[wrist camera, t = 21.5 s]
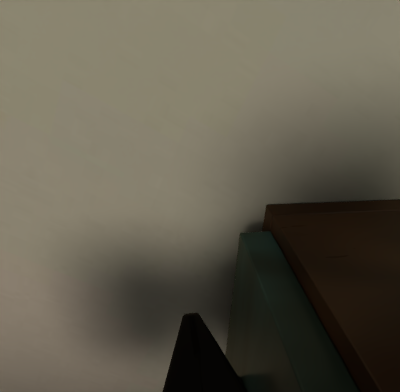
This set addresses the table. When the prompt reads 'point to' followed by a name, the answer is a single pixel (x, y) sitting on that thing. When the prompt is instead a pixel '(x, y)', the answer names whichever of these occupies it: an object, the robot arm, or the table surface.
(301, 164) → the table surface
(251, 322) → the drawer
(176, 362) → the robot arm
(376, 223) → the cabinet
